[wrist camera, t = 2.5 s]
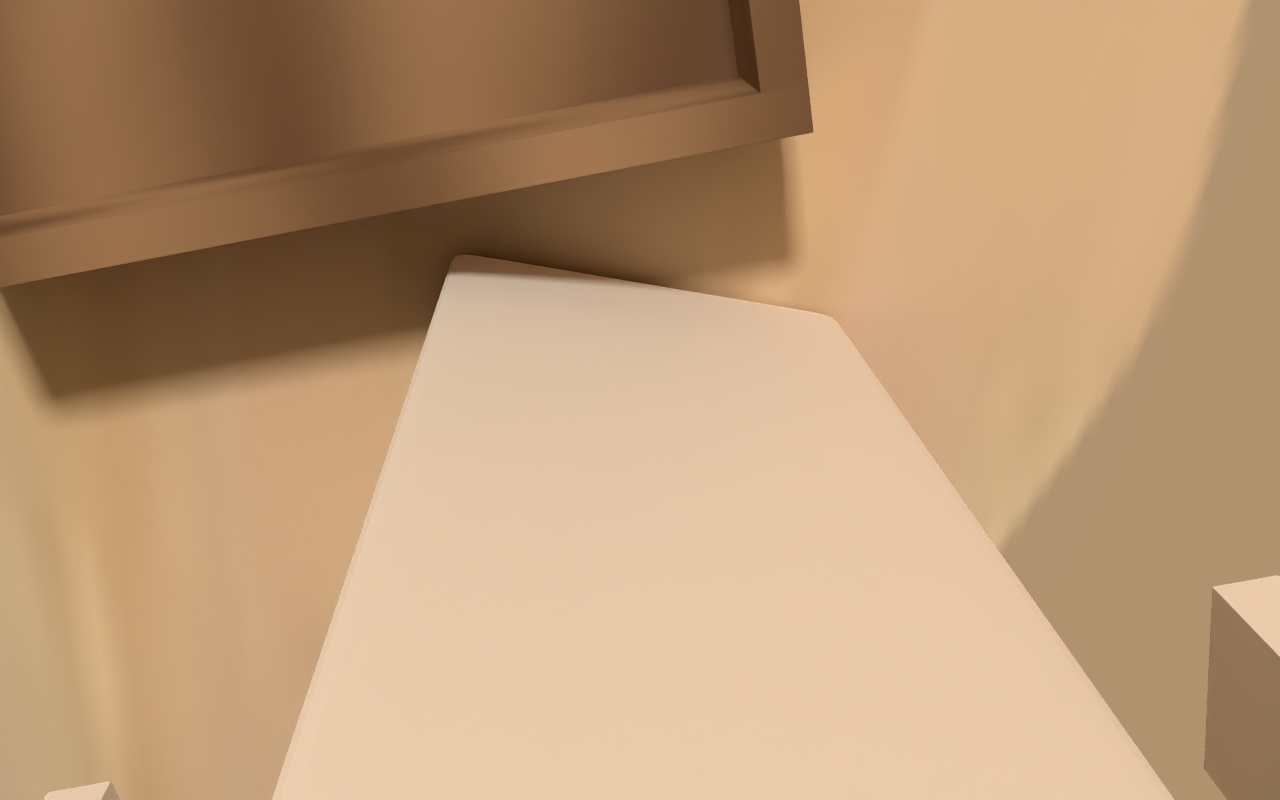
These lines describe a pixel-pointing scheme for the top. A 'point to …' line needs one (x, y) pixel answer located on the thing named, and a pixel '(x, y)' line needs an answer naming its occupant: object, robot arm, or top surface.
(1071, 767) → the milk carton
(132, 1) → the tray
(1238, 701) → the robot arm
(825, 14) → the top surface
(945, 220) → the top surface
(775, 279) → the top surface
